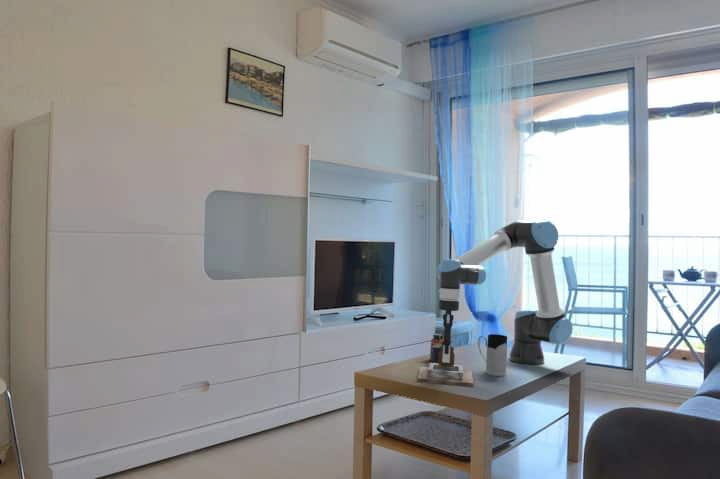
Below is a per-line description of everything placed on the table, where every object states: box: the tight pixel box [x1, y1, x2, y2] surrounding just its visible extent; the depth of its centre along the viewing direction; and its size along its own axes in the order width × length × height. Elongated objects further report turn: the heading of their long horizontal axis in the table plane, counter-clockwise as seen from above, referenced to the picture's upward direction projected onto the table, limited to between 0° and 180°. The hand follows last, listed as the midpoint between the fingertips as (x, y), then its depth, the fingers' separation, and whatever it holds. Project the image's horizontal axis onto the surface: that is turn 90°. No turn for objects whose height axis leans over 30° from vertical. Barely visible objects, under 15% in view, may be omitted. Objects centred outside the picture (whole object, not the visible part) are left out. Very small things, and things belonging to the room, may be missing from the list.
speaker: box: [432, 339, 452, 364], centre depth 225 cm, size 8×6×10 cm
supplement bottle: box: [429, 333, 444, 361], centre depth 236 cm, size 6×6×11 cm
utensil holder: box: [438, 333, 455, 367], centre depth 204 cm, size 6×6×12 cm
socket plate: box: [417, 362, 474, 387], centre depth 204 cm, size 20×20×4 cm
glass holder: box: [477, 333, 508, 377], centre depth 218 cm, size 9×14×15 cm, turn 36°
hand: (446, 360), depth 204 cm, fingers closed on utensil holder, 6 cm apart
